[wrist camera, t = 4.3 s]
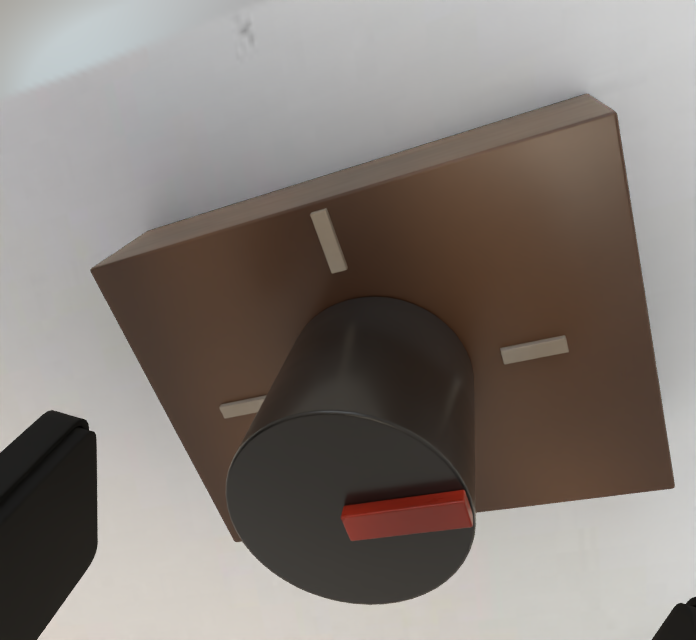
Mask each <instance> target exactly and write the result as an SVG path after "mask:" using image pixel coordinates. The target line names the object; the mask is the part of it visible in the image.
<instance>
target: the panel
mask: <svg viewBox="0 0 696 640" xmlns="http://www.w3.org/2000/svg"><path fill="white" fill-rule="evenodd" d="M91 273H92V275H93V277H94V279H95V281H96V283H97V284H98V286H99V288H100V290H101V292H102V294H103V296H104V298H105V299H106V301H107V303H108V305H109V307H110V309H111V311H112V313H113V314H114V316H115V318H116V320H117V322H118V324H119V326H120V328H121V329H122V331H123V333H124V335H125V337H126V339H127V341H128V343H129V344H130V346H131V348H132V350H133V352H134V354H135V356H136V358H137V359H138V361H139V363H140V365H141V367H142V369H143V371H144V373H145V374H146V376H147V378H148V380H149V382H150V384H151V386H152V388H153V389H154V391H155V393H156V395H157V397H158V399H159V401H160V403H161V404H162V406H163V408H164V410H165V412H166V414H167V416H168V418H169V419H170V421H171V423H172V425H173V427H174V429H175V431H176V433H177V434H178V436H179V438H180V440H181V442H182V444H183V446H184V448H185V449H186V451H187V453H188V455H189V457H190V459H191V461H192V463H193V464H194V466H195V468H196V470H197V472H198V474H199V476H200V478H201V479H202V481H203V483H204V485H205V487H206V489H207V491H208V493H209V494H210V496H211V498H212V500H213V502H214V504H215V506H216V508H217V509H218V511H219V513H220V515H221V517H222V519H223V521H224V523H225V525H226V526H227V528H228V530H229V532H230V534H231V536H232V538H233V540H234V541H235V542H241V541H242V540H241V538H240V537H239V535H238V534H237V532H236V530H235V528H234V526H233V523H232V521H231V519H230V515H229V512H228V508H227V501H226V479H227V474H228V470H229V467H230V465H231V462H232V460H233V457H234V455H235V454H236V452H237V450H238V448H239V446H240V444H241V442H242V441H243V439H244V437H245V435H246V433H247V431H248V429H249V427H250V426H251V424H252V422H253V420H254V418H255V416H256V414H257V413H258V411H259V409H260V407H261V405H262V403H263V401H264V399H265V398H266V396H267V394H268V392H269V390H270V388H271V386H272V385H273V383H274V381H275V379H276V377H277V375H278V373H279V371H280V370H281V368H282V366H283V364H284V362H285V360H286V358H287V357H288V355H289V353H290V351H291V349H292V347H293V345H294V343H295V342H296V340H297V338H298V336H299V335H300V333H301V332H302V330H303V329H304V328H305V326H306V325H307V324H308V323H309V322H310V321H311V320H312V319H313V318H314V317H315V316H317V315H318V314H319V313H321V312H322V311H324V310H325V309H327V308H329V307H331V306H333V305H335V304H337V303H340V302H343V301H347V300H350V299H356V298H361V297H388V298H393V299H398V300H402V301H406V302H409V303H412V304H414V305H417V306H419V307H421V308H423V309H425V310H427V311H429V312H430V313H432V314H433V315H435V316H436V317H438V318H439V319H440V320H442V321H443V322H444V323H445V324H446V325H447V326H448V327H449V328H450V329H451V330H452V331H453V332H454V333H455V334H456V335H457V337H458V338H459V340H460V341H461V342H462V344H463V346H464V348H465V349H466V351H467V353H468V356H469V359H470V361H471V365H472V369H473V375H474V425H475V508H476V513H477V512H485V511H493V510H501V509H509V508H518V507H526V506H534V505H542V504H550V503H558V502H566V501H575V500H583V499H591V498H599V497H607V496H615V495H623V494H631V493H640V492H648V491H656V490H664V489H672V488H674V487H675V483H674V477H673V470H672V464H671V457H670V451H669V444H668V438H667V432H666V425H665V419H664V412H663V406H662V399H661V393H660V387H659V380H658V374H657V367H656V361H655V354H654V348H653V342H652V335H651V329H650V322H649V316H648V309H647V303H646V297H645V290H644V284H643V277H642V271H641V264H640V258H639V252H638V245H637V239H636V232H635V226H634V219H633V213H632V207H631V200H630V194H629V187H628V181H627V174H626V168H625V162H624V155H623V149H622V142H621V136H620V129H619V123H618V117H617V113H616V112H615V111H614V110H612V109H611V108H609V107H608V106H606V105H605V104H603V103H601V102H600V101H598V100H597V99H595V98H594V97H592V96H591V95H589V94H584V95H581V96H577V97H574V98H571V99H568V100H565V101H561V102H558V103H555V104H552V105H549V106H545V107H542V108H539V109H536V110H533V111H530V112H526V113H523V114H520V115H517V116H514V117H510V118H507V119H504V120H501V121H498V122H494V123H491V124H488V125H485V126H482V127H478V128H475V129H472V130H469V131H466V132H462V133H459V134H456V135H453V136H450V137H446V138H443V139H440V140H437V141H434V142H430V143H427V144H424V145H421V146H418V147H414V148H411V149H408V150H405V151H402V152H398V153H395V154H392V155H389V156H386V157H382V158H379V159H376V160H373V161H370V162H366V163H363V164H360V165H357V166H354V167H350V168H347V169H344V170H341V171H338V172H334V173H331V174H328V175H325V176H322V177H318V178H315V179H312V180H309V181H306V182H302V183H299V184H296V185H293V186H290V187H286V188H283V189H280V190H277V191H274V192H270V193H267V194H264V195H261V196H258V197H255V198H251V199H248V200H245V201H242V202H239V203H235V204H232V205H229V206H226V207H223V208H219V209H216V210H213V211H210V212H207V213H203V214H200V215H197V216H194V217H191V218H187V219H184V220H181V221H178V222H175V223H171V224H168V225H165V226H162V227H159V228H155V229H152V230H149V231H147V232H145V233H144V234H142V235H141V236H139V237H138V238H136V239H135V240H133V241H132V242H130V243H129V244H127V245H126V246H124V247H123V248H121V249H120V250H118V251H117V252H115V253H114V254H112V255H111V256H109V257H108V258H106V259H105V260H103V261H102V262H100V263H99V264H97V265H96V266H94V267H93V268H92V269H91Z"/></svg>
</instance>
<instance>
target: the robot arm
mask: <svg viewBox="0 0 696 640" xmlns="http://www.w3.org/2000/svg"><path fill="white" fill-rule="evenodd" d="M97 543H98V538H97V446H96V434H95V432H93V431H89V426H88V423H87V421H86V420H84V419H81V418H77V417H74V416H71V415H67V414H64V413H60V412H57V411H53V410H51V411H47V412H46V413H45V414H43V415H42V416H41V417H40V418H39V419H37V420H36V421H35V422H34V423H33V424H32V425H31V426H30V427H29V428H27V429H26V430H25V431H24V432H23V433H22V434H21V435H20V436H19V437H17V438H16V439H15V440H14V441H13V442H12V443H11V444H10V445H9V446H7V447H6V448H5V449H4V450H3V451H2V452H1V453H0V640H37V639H38V637H39V636H40V635H41V633H42V632H43V630H44V629H45V628H46V626H47V625H48V623H49V622H50V621H51V619H52V618H53V616H54V615H55V614H56V612H57V611H58V609H59V608H60V607H61V605H62V604H63V602H64V601H65V600H66V598H67V597H68V595H69V594H70V593H71V591H72V590H73V588H74V587H75V586H76V584H77V583H78V581H79V580H80V579H81V577H82V576H83V575H84V573H85V572H86V570H87V569H88V567H89V566H90V564H91V562H92V560H93V558H94V556H95V553H96V550H97ZM652 640H696V597H694V598H691V599H690V600H689V601H688V602H687V603H686V604H683V603H679V604H677V605H676V606H675V607H674V608H673V610H672V611H671V613H670V614H669V615H668V617H667V618H666V620H665V621H664V623H663V624H662V626H661V627H660V629H659V630H658V631H657V633H656V634H655V636H654V637H653V639H652Z"/></svg>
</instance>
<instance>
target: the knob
mask: <svg viewBox="0 0 696 640" xmlns="http://www.w3.org/2000/svg"><path fill="white" fill-rule="evenodd" d="M226 501H227V508H228V512H229V515H230V519H231V521H232V523H233V526H234V528H235V530H236V532H237V534H238V535H239V537H240V538H241V540H242V542H243V543H244V544H245V546H246V547H247V548H248V549H249V551H250V552H251V553H252V554H253V555H254V556H255V557H256V558H257V559H258V560H259V561H260V562H261V563H262V564H263V565H264V566H265V567H267V568H268V569H269V570H270V571H272V572H273V573H274V574H276V575H277V576H279V577H280V578H282V579H283V580H285V581H287V582H289V583H290V584H292V585H294V586H296V587H298V588H300V589H302V590H305V591H307V592H309V593H312V594H315V595H318V596H321V597H324V598H327V599H331V600H336V601H340V602H346V603H353V604H367V605H372V604H388V603H396V602H401V601H405V600H409V599H413V598H415V597H418V596H421V595H424V594H426V593H428V592H430V591H432V590H434V589H436V588H437V587H439V586H440V585H442V584H443V583H444V582H446V581H447V580H448V579H449V578H450V577H451V576H452V575H453V574H455V573H456V572H457V570H458V569H459V568H460V566H461V565H462V564H463V562H464V561H465V559H466V557H467V555H468V553H469V551H470V549H471V546H472V543H473V540H474V535H475V527H476V508H475V425H474V375H473V369H472V365H471V361H470V359H469V356H468V353H467V351H466V349H465V348H464V346H463V344H462V342H461V341H460V340H459V338H458V337H457V335H456V334H455V333H454V332H453V331H452V330H451V329H450V328H449V327H448V326H447V325H446V324H445V323H444V322H443V321H442V320H440V319H439V318H438V317H436V316H435V315H433V314H432V313H430V312H429V311H427V310H425V309H423V308H421V307H419V306H417V305H414V304H412V303H409V302H406V301H402V300H398V299H393V298H388V297H361V298H356V299H350V300H347V301H343V302H340V303H337V304H335V305H333V306H331V307H329V308H327V309H325V310H324V311H322V312H321V313H319V314H318V315H317V316H315V317H314V318H313V319H312V320H311V321H310V322H309V323H308V324H307V325H306V326H305V328H304V329H303V330H302V332H301V333H300V335H299V336H298V338H297V340H296V342H295V343H294V345H293V347H292V349H291V351H290V353H289V355H288V357H287V358H286V360H285V362H284V364H283V366H282V368H281V370H280V371H279V373H278V375H277V377H276V379H275V381H274V383H273V385H272V386H271V388H270V390H269V392H268V394H267V396H266V398H265V399H264V401H263V403H262V405H261V407H260V409H259V411H258V413H257V414H256V416H255V418H254V420H253V422H252V424H251V426H250V427H249V429H248V431H247V433H246V435H245V437H244V439H243V441H242V442H241V444H240V446H239V448H238V450H237V452H236V454H235V455H234V457H233V460H232V462H231V465H230V467H229V470H228V474H227V479H226Z"/></svg>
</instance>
